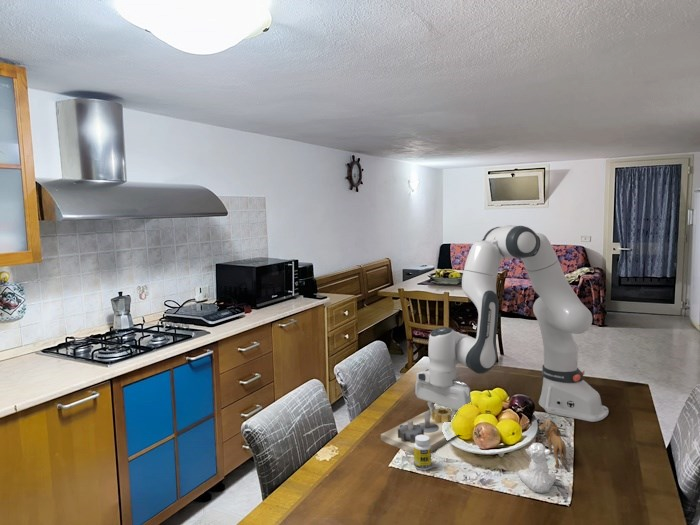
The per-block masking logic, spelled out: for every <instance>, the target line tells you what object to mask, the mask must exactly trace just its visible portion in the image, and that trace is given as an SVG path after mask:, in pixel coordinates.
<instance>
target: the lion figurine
mask: <svg viewBox="0 0 700 525" xmlns="http://www.w3.org/2000/svg"><path fill="white" fill-rule="evenodd" d="M538 428H539V430H540V432H541V433H544V435H545V437H546V439H547V446H548V449H549V450H550V453H549V455H552V454H553V457H554V460H555V465H554V468H557V469H559V468H560V462H561V464H562V467H563V468H564V469H565V470H566V471H569V468H568V466H567V465H566V464H568V461H567V457H566V455H567V447H566V444H565V442H564V440H563V439H562V432H561V431H560V429H559V427H558V425H557V424H556V423H555V422H554V420H552V419H547V418H546V419H545V420H544V422H543V423H542V424H541V425H539V426H538ZM552 447H553V448H552ZM558 456H559V457H558ZM559 458H560V462H559Z"/></svg>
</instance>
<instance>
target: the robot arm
mask: <svg viewBox="0 0 700 525" xmlns="http://www.w3.org/2000/svg"><path fill="white" fill-rule="evenodd" d="M504 259H521V261H522V263H523V266H524V268H525V271H526V273H527V276H528V278H529V282H530V284H531V286H532V289H533V290H534V292H535V293H536V294H537V295H538V296H539V297H538V298H537V299H535V301H534V303H533V306H532V310H533V315H534V316H535V318H536V320H537V323H538V325H539V329H540V334H541V337H542V343H543V364H542V370H541V377H542V388H541V394H540V397H539V399H538V404H539V406H540V408H541V407H542V408H543V409H544V411H545V413H547V414H550V415H555V416H556V415H557V416H561V417H567V418H570V419H577V420H582V421H585V422H591V423H592V422H593V423H594V422H599V421H602V420H604V419H605V418H607V416H608V415H609V412H610V411H609V410H610V409H609V408H608V407H607V406H605V405H603V404H602V399H601V395H600V393H599V392H598V391H597V390H596V389H594V387H592V386H591V385H590V384H589V383H588V382H587V381H585V380H584V375H585V370H583V371H581V370H580V368H579V367H578V359H579V357H578V356H579V355H578V352H579V351H578V350H579V349H578V345H577V343H576V340H574V337H573V335H575V334H576V335H581V334H584V333H586V332H587V331H588V330H589V329H590V328H591V327H592V325H593V324H592V323H593V314H592V312H591V311H590V310H589V309H588V307H587V306H586V305H585V304H584V303H583V302H582V301H581V300H580V298H579V297H578V295H577V294H576V292H575V291H574V289H573V287H572V286H571V285H570V283H569V281H568V280H567V278H566V275H565V273H564V271H563V268H562V266H561V263H560V260H559V258H558V255H557V253H556V251H555V249H554V247H553V245H552V244H551V241H550V240H549V239H548V237H547V236H546V235H544V234H542V233H540V232H539V233H538V232H536V231H534V230H533V229H532V228H530V227H528V226H525V225H512V224H511V225H509V224H508V225H505V226H496V227H493V228H491V229H489V230H488V231H487V232H486V233H485V235H484V236H483V238H482V239H481V240H478V241H476V242H474V243H473V244H472V245H471V247H470V250H469V252H468V254H467V257H466V260H465V263H464V267H463V272H462V277H461V289H462V291H463V293H464V294H465V296H466V297H467V298H468V299H469V300H470V301H471V302H472V303H473V304H474V306H475V307H476V309H477V310H476V311H477V313H478V316H477V328H476V336H475V337H472V336H470V335H468V334H465V333H460V332H458V331H455V329H452V328H451V327H447V326H446V327H444V326H442V327H437V328H435V329H433V330H432V331H431V332H430V334H429V337H428V347H427V348H428V353H427V354H428V359H429V364H428V368H426V369H423V370H421V371H419V372H417V373H415V376H416V381H415V387H414V388H415V396H416V398H417V399H420V400H422V401H425V402H427V404H426V405H427V406H428V408H429V409H430V411H431V414H432V412H433V411H434V410H435V409H437V408H436V406H435V404H436V405H437V406H441V407H443V408H444V407H445V408H449V409H450V410H451V411H452V412H453V413H452V414H451V415H449V420H450V421H451V420H452V419H453V417H454V415H455V414H456V412H457V411H458V409H459V408H461V407H462V406H463V405H465V404H468V403H470V402H471V403H472V398H471V388H470V387H469V385H467V383H466V382H461V381H459V380H457V367H456V366H457V365H459V364H460V365H462V366H464V367H466V368H468V369H469V370H471V371H473V372H474V373H476V374H482V375H483V374H485V373H487V372H490V371H491V370H492V369H493V368H494V367H495V365H496V363H497V359H498V352H497V332H498V323H499V322H498V320H499V309H500V308H499V304H500V303H499V298H498V295H497V279H498V273H499V270H500V265H501V263H502V262H503V260H504ZM572 334H573V335H572ZM458 412H459V411H458ZM456 415H457V414H456Z"/></svg>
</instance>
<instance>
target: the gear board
mask: <svg viewBox="0 0 700 525" xmlns="http://www.w3.org/2000/svg"><path fill="white" fill-rule="evenodd" d="M442 425H443V423H436V422H435V421H434V420H432V414H431V411H430V408H429V409H428V410H426V411H424V412H422V413H420V414H418V415H416V416H414V417H413V418H410V419H408V420H405V421H404V422H402V423H400V424H398V425H397V426H394V427H393V428H391V429H389V430H387V431H385V432H383V433H380V441H381V442H383V443H386V444H388V445H391V446H393V447H395V448H398V449H399V450H402V449H403V451H405V452H407V453H409V454H412V455H414V444H415V437H416V436H417V435H427V436H428V437H429V438H430V445H431V453H432V452H434V451H435V450H437V449H439V448H440V447H442V446H444V445H445V444H446V442H447V440H446V438H445V436H444V434H443V432H442ZM447 443H448V442H447ZM441 445H442V446H441ZM438 447H439V448H438Z"/></svg>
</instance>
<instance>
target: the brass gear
mask: <svg viewBox="0 0 700 525" xmlns="http://www.w3.org/2000/svg"><path fill="white" fill-rule="evenodd" d="M452 413H453V412H452V409H451V408H448V407H445V408H444V407H438V408H436V409H435V410H434V411H433V412H432V420H434V421H435V422H436V423H444V422H451V421H450V420H449V415H451V414H452Z"/></svg>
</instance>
